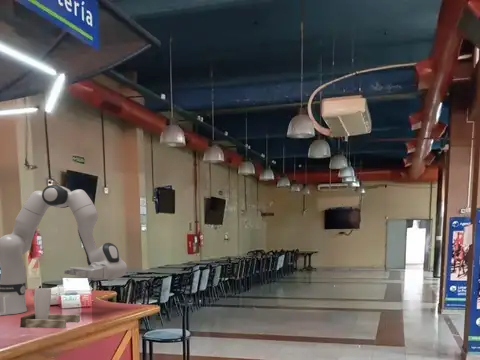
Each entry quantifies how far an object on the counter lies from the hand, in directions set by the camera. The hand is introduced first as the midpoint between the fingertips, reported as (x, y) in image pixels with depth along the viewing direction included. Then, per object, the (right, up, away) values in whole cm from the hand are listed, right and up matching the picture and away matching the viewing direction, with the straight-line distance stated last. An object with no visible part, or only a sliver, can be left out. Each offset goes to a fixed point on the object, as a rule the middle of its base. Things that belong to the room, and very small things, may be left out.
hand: (70, 273), depth 209 cm
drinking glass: (-8, -20, -12) cm, 25 cm away
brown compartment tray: (-4, -20, -13) cm, 24 cm away
